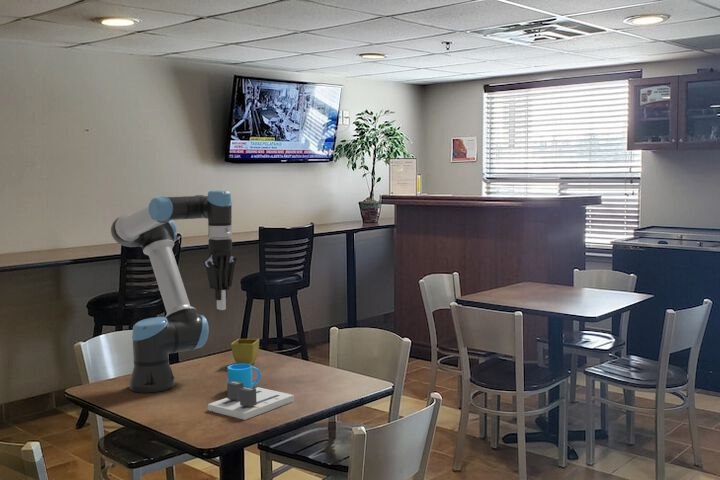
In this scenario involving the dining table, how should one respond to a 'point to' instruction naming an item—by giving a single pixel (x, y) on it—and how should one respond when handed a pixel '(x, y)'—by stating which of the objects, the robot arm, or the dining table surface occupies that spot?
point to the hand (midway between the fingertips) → (221, 309)
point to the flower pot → (245, 350)
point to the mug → (242, 374)
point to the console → (264, 403)
